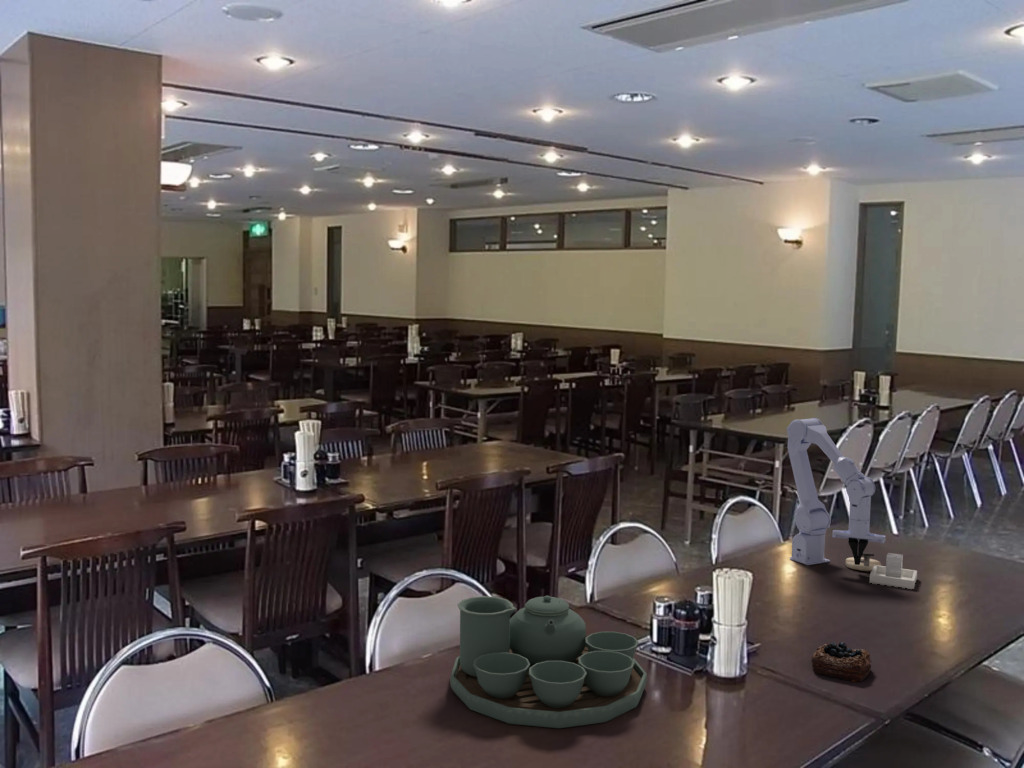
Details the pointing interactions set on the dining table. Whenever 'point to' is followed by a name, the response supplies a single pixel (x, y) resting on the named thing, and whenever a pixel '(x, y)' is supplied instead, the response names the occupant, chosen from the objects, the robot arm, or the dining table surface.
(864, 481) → the robot arm
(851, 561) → the crank
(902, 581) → the tray
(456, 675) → the tea set
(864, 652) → the pastry
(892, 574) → the block
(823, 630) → the dining table surface
